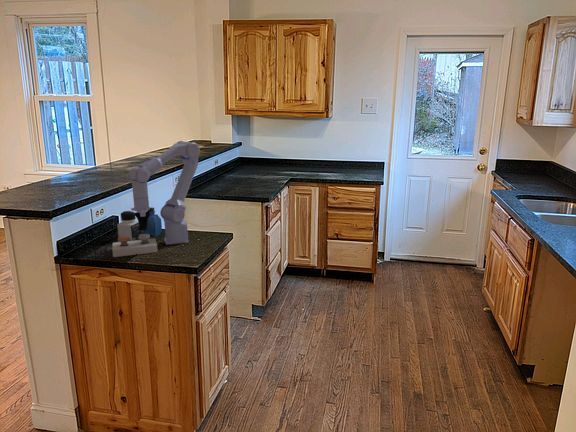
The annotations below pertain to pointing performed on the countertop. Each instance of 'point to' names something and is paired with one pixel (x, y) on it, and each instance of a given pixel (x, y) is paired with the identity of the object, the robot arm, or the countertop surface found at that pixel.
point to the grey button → (144, 238)
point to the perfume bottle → (153, 224)
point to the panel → (134, 248)
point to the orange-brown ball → (123, 240)
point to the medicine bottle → (129, 225)
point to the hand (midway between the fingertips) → (143, 229)
